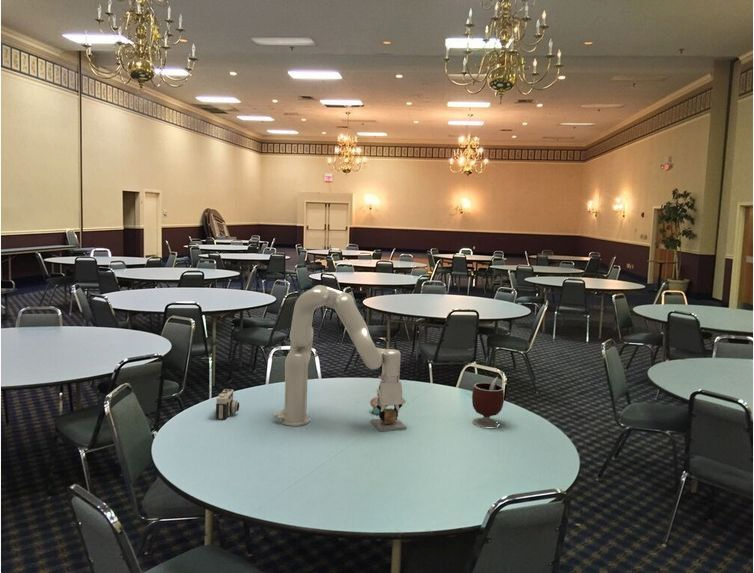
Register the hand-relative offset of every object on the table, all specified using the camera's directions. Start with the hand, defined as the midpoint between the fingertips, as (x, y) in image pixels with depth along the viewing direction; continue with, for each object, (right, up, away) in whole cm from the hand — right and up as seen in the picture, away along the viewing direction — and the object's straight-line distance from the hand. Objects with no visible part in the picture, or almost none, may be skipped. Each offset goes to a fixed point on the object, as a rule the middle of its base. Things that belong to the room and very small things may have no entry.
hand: (388, 418), depth 254 cm
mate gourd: (+44, -4, +10) cm, 46 cm away
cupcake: (-4, -1, +17) cm, 18 cm away
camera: (-70, 0, +5) cm, 70 cm away
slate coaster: (0, -3, 0) cm, 3 cm away
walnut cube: (0, -1, 0) cm, 1 cm away
